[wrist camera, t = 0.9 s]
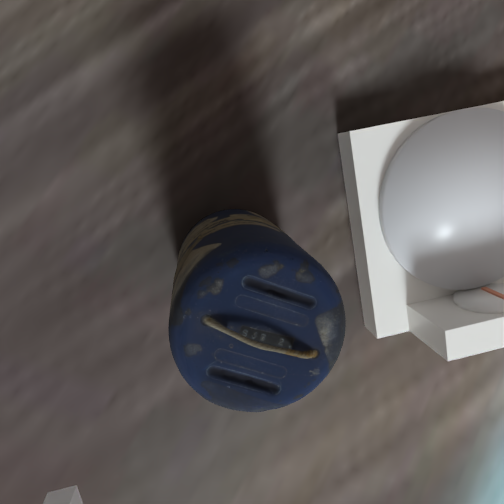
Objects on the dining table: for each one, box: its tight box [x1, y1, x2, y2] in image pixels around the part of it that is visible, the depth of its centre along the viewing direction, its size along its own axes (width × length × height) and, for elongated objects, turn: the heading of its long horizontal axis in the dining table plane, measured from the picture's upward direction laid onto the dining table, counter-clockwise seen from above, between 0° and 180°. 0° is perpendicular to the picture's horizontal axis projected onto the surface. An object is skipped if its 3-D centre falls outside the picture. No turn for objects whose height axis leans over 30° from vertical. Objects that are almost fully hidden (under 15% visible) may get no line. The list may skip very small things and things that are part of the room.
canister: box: [169, 209, 345, 412], centre depth 29 cm, size 10×10×18 cm
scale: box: [338, 101, 504, 361], centre depth 35 cm, size 18×18×9 cm
